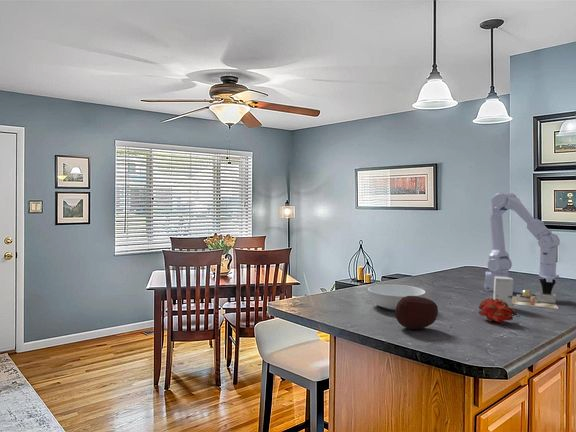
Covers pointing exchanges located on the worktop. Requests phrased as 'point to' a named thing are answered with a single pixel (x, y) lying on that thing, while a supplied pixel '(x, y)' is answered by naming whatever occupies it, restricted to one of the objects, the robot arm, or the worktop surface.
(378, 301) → the serving bowl
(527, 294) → the post
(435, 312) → the potato
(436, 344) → the worktop surface
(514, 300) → the board
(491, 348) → the worktop surface
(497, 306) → the dragon fruit
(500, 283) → the skincare box
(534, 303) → the dowel
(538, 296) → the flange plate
